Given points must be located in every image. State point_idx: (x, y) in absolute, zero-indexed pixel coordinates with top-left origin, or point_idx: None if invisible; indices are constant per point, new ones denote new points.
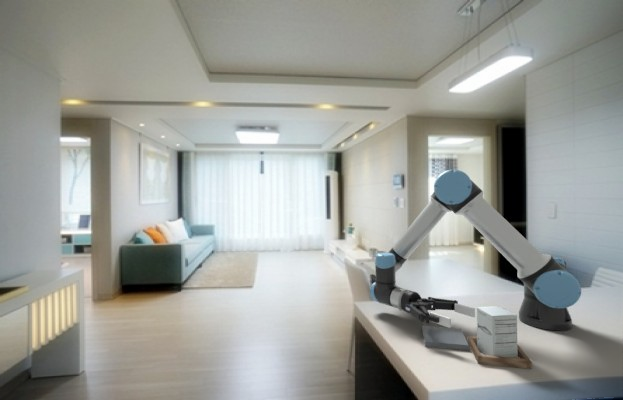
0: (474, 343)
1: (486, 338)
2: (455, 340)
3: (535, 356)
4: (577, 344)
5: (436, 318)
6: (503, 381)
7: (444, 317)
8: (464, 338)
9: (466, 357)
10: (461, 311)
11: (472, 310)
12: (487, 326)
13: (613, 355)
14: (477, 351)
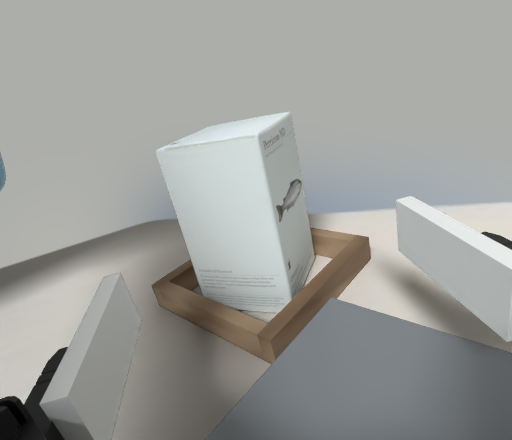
0: (305, 289)
1: (299, 217)
2: (359, 340)
3: (180, 265)
4: (22, 287)
5: (491, 235)
6: (367, 214)
7: (432, 209)
8: (293, 347)
9: (384, 285)
10: (116, 377)
11: (123, 289)
12: (294, 168)
13: (55, 252)
14: (346, 252)
